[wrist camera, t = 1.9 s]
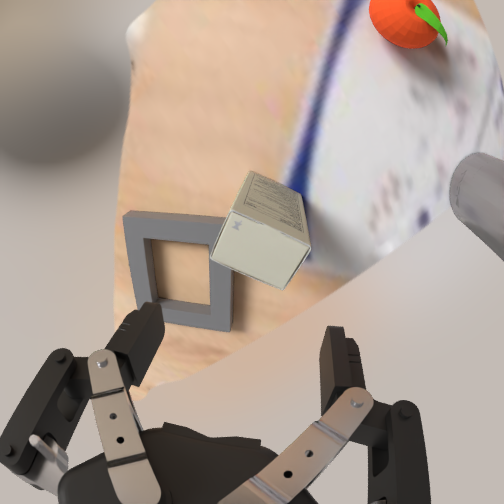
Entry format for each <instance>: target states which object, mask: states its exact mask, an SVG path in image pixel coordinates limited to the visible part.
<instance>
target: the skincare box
mask: <svg viewBox="0 0 504 504" xmlns="http://www.w3.org/2000/svg"><path fill="white" fill-rule="evenodd" d="M310 251H311V242H310V237H309V232H308V226H307V221H306V216H305V211H304V206H303V201H302V196H301V194H299V193H297V192H295V191H294V190H292V189H290V188H288V187H286V186H284V185H282V184H280V183H278V182H275V181H273V180H271V179H269V178H267V177H265V176H262V175H260V174H258V173H255V172H253V171H249V172H248V174H247V176H246V178H245V180H244V182H243V184H242V186H241V188H240V190H239V192H238V194H237V196H236V198H235V200H234V202H233V204H232V206H231V209H230V211H229V213H228V215H227V217H226V219H225V221H224V224H223V226H222V228H221V230H220V233H219V235H218V237H217V240H216V242H215V244H214V247H213V249H212V252H211V255H210V259H212V260H213V261H215V262H217V263H219V264H221V265H223V266H225V267H228V268H230V269H232V270H234V271H236V272H239V273H241V274H243V275H246V276H248V277H250V278H253V279H255V280H257V281H260V282H262V283H265V284H267V285H270V286H272V287H275V288H278V289H280V290H284V289H285V288H286V286H287V285H288V283H289V282H290V281H291V279H292V278H293V276H294V275H295V274H296V272H297V271H298V269H299V268H300V266H301V265H302V263H303V262H304V260H305V259H306V257H307V256H308V254H309V252H310Z"/></svg>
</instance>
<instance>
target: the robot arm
mask: <svg viewBox="0 0 504 504" xmlns="http://www.w3.org/2000/svg"><path fill="white" fill-rule="evenodd" d="M450 203H451V207H452V209H453V212H454V214H455V215H456V217H457V218H458V219H459V220H460V221H461V222H462V223H463V224H465V225H466V226H467V227H468V228H469V229H470V230H471V231H472V232H474V234H475V235H477V236H478V237H479V238H480V239H481V240H482V241H483V242H484V243H485V244H487V246H489V247H490V248H491V249H492V250H493V251H494V252H495V253H496V254H497V255H498V256H499V257H500V258H501V259H502V260H503V261H504V161H503V160H501V159H498V158H495V157H493V156H490V155H487V154H485V153H474V154H471V155H469V156H467V157H466V158H465V159H464V160H462V161H461V162H460V164H459V165H458V167H457V168H456V170H455V172H454V174H453V177H452V180H451V184H450ZM164 333H165V325H164V319H163V313H162V307H161V305H160V304H158V303H152V302H144V304H143V305H142V307H141V308H140V310H134V311H132V312H131V313H129V314H128V315H127V316H126V317H125V319H124V320H123V322H122V324H121V325H120V326H119V328H118V329H117V331H116V332H115V334H114V335H113V337H112V338H111V340H110V342H109V343H108V344H107V346H106V347H105V349H101V350H98V351H95V352H93V353H92V354H91V355H90V356H89V357H74V356H73V354H72V352H71V351H70V350H68V349H65V348H60V349H57V350H55V351H53V352H52V353H51V354H50V355H49V357H48V358H47V360H46V361H45V363H44V364H43V366H42V367H41V369H40V370H39V372H38V374H37V375H36V377H35V378H34V380H33V381H32V383H31V385H30V386H29V388H28V389H27V391H26V393H25V395H24V396H23V398H22V399H21V401H20V403H19V405H18V406H17V408H16V410H15V412H14V413H13V415H12V417H11V418H10V420H9V422H8V424H7V426H6V428H5V429H4V431H3V433H2V435H1V437H0V462H1V463H2V464H3V465H4V466H6V467H7V468H8V469H9V470H10V471H11V472H12V473H14V474H15V475H16V476H18V477H19V478H21V479H22V480H23V481H25V482H26V483H29V484H30V485H32V486H33V487H35V488H37V489H39V490H46V491H49V492H50V493H52V494H54V495H56V496H58V502H59V504H318V503H317V501H315V499H314V498H313V497H312V496H311V494H310V493H309V492H308V490H307V488H308V487H309V486H310V485H311V484H312V483H313V482H314V481H315V480H316V479H317V478H318V477H319V476H320V475H321V473H322V472H323V471H324V470H325V469H326V468H327V466H328V465H329V464H330V463H331V462H332V461H333V459H334V458H335V457H336V456H337V455H338V454H339V453H340V451H341V450H342V449H343V448H344V447H345V445H346V444H347V443H348V442H349V441H352V442H356V443H359V444H363V445H366V446H368V504H431V496H430V483H429V473H428V464H427V456H426V448H425V442H424V435H423V429H422V423H421V417H420V412H419V409H418V408H417V406H416V405H415V404H413V403H412V402H410V401H407V400H400V401H398V402H396V403H395V404H393V406H392V405H388V404H385V403H381V402H378V401H376V400H374V399H373V397H372V395H371V394H370V393H369V392H368V391H367V390H366V386H365V380H364V375H363V369H362V364H361V357H360V352H359V348H358V345H357V344H356V342H355V341H354V339H353V338H345V332H344V328H343V327H337V326H327V329H326V332H325V336H324V339H323V343H322V346H321V350H320V358H319V362H320V383H321V384H320V386H321V416H322V417H321V418H320V419H319V420H318V421H315V422H313V423H312V424H311V425H310V426H309V427H308V428H307V429H306V430H305V431H304V432H303V433H302V434H301V435H300V436H299V437H298V438H297V439H296V440H295V441H294V442H293V443H292V444H291V445H289V446H288V447H287V448H286V449H285V450H284V451H283V452H282V453H281V454H280V455H277V454H276V453H275V452H273V451H272V450H270V449H268V448H266V447H263V446H260V445H261V440H260V439H251V438H243V437H219V438H218V437H217V438H210V437H207V436H205V435H203V434H200V433H198V432H196V431H194V430H192V429H190V428H187V427H183V426H179V425H175V424H171V423H167V422H164V424H163V427H162V428H152V429H147V430H143V428H142V426H141V424H140V421H139V418H138V415H137V413H136V410H135V407H134V404H133V401H132V398H131V395H130V392H129V389H130V387H131V385H134V386H137V387H139V386H140V384H141V382H142V380H143V378H144V376H145V374H146V372H147V370H148V368H149V366H150V364H151V362H152V360H153V358H154V356H155V354H156V352H157V350H158V348H159V346H160V344H161V342H162V340H163V337H164ZM89 399H91V400H92V405H93V410H94V414H95V418H96V423H97V427H98V431H99V435H100V438H101V442H102V446H103V449H104V452H103V453H101V454H99V455H97V456H95V457H93V458H91V459H89V460H87V461H85V462H84V463H81V464H79V465H77V466H75V467H73V468H71V469H70V470H68V456H67V454H66V452H65V451H66V448H67V446H68V444H69V442H70V439H71V437H72V435H73V433H74V430H75V428H76V426H77V424H78V422H79V419H80V417H81V415H82V413H83V411H84V409H85V407H86V405H87V403H88V401H89ZM67 470H68V471H67Z"/></svg>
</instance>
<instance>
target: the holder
mask: <svg viewBox="0 0 504 504" xmlns="http://www.w3.org/2000/svg"><path fill="white" fill-rule="evenodd" d="M225 219H226V218H224V217H213V216H200V215H188V214H174V213H160V212H145V211H129V212H128V213H126V214H125V215H124V216H123V225H124V233H125V240H126V247H127V254H128V260H129V266H130V272H131V277H132V283H133V288H134V293H135V298H136V303H137V308H138V310H140V308H141V307H142V305H143V304H144V302H152V303H158V304H160V305H161V307H162V313H163V319H164V322H167V323H173V324H178V325H184V326H190V327H197V328H203V329H210V330H216V331H223V332H230V331H231V327H232V323H233V282H234V270H232V269H230V268H228V267H225V266H223V265H221V264H219V263H217V262H215V261H213V260H212V259H210V255H211V252H212V249H213V247H214V244H215V242H216V240H217V237H218V235H219V233H220V230H221V228H222V226H223V224H224V221H225ZM151 239H159V240H169V241H179V242H189V243H198V244H208V245H209V275H210V305H204V304H197V303H190V302H183V301H177V300H170V299H164V298H158V293H157V286H156V279H155V271H154V263H153V255H152V246H151Z"/></svg>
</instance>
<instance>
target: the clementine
mask: <svg viewBox="0 0 504 504" xmlns="http://www.w3.org/2000/svg"><path fill="white" fill-rule="evenodd" d="M369 13H370V18H371V20H372V22H373V25H374V27H375V28H376V29H377V31H378V32H379V33H380V34H381V35H382V36H383V37H384V38H385V39H387V40H388V41H390V42H391V43H393V44H395V45H398V46H400V47H403V48H410V49H412V48H422V47H424V46H427V45H429V44H430V43H431V42H433V41H434V40H435V39H436V38H437V35H438V33H440V34H441V35H442V37H443V38H444V40H445V41H446V45H447V41H448V40H447V34H446V32H445V29H444V27H443V26H442V24H441V21H440V16H439V13H438V10H437V8H436V6H435V5H434V4H433V2H432V1H431V0H371V1H370V6H369Z"/></svg>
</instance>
